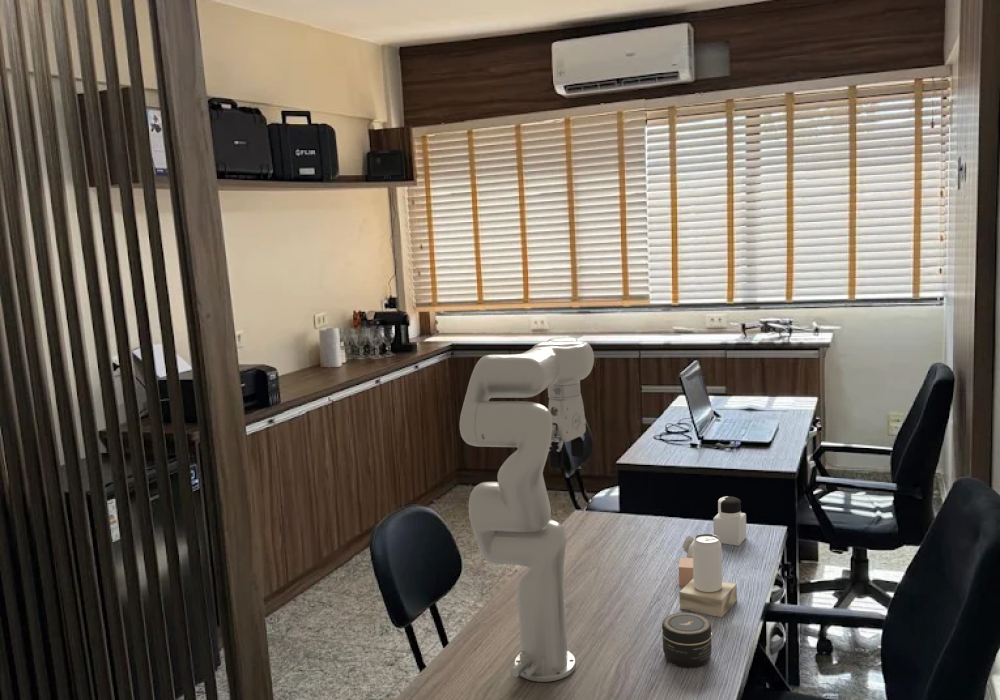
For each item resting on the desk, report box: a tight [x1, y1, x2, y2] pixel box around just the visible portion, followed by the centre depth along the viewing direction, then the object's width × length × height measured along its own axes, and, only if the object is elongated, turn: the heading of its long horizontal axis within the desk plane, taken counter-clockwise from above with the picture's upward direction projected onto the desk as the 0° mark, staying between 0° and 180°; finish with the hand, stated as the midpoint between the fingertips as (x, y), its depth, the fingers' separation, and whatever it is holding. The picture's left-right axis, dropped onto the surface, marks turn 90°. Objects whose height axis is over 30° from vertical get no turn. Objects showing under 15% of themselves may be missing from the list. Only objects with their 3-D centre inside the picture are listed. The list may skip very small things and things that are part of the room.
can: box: [693, 533, 723, 593], centre depth 197 cm, size 6×6×12 cm
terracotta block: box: [678, 557, 693, 587], centre depth 210 cm, size 6×6×5 cm
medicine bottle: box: [712, 495, 747, 547], centre depth 235 cm, size 7×7×12 cm
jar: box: [661, 612, 713, 669], centre depth 174 cm, size 10×10×8 cm
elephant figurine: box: [682, 535, 695, 558], centre depth 220 cm, size 8×10×7 cm
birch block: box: [679, 579, 738, 618], centre depth 198 cm, size 10×10×4 cm
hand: (567, 461), depth 200 cm, fingers open, 9 cm apart
